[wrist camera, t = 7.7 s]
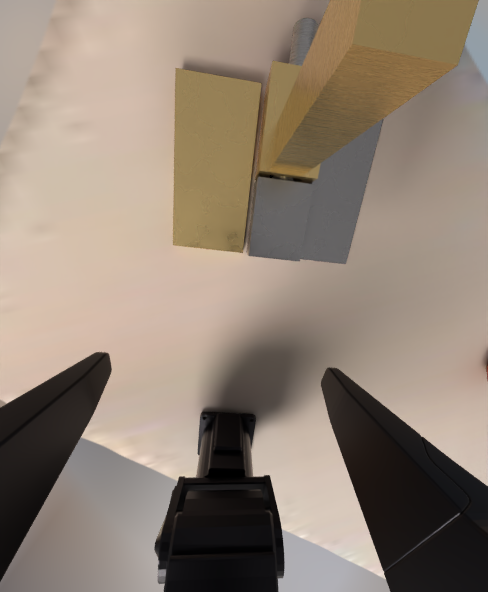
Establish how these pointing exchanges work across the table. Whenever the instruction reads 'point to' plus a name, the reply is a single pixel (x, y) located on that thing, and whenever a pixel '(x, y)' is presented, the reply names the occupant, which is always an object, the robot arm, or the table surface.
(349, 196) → the fixed leaf
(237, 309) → the table surface
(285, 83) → the brass block assembly
